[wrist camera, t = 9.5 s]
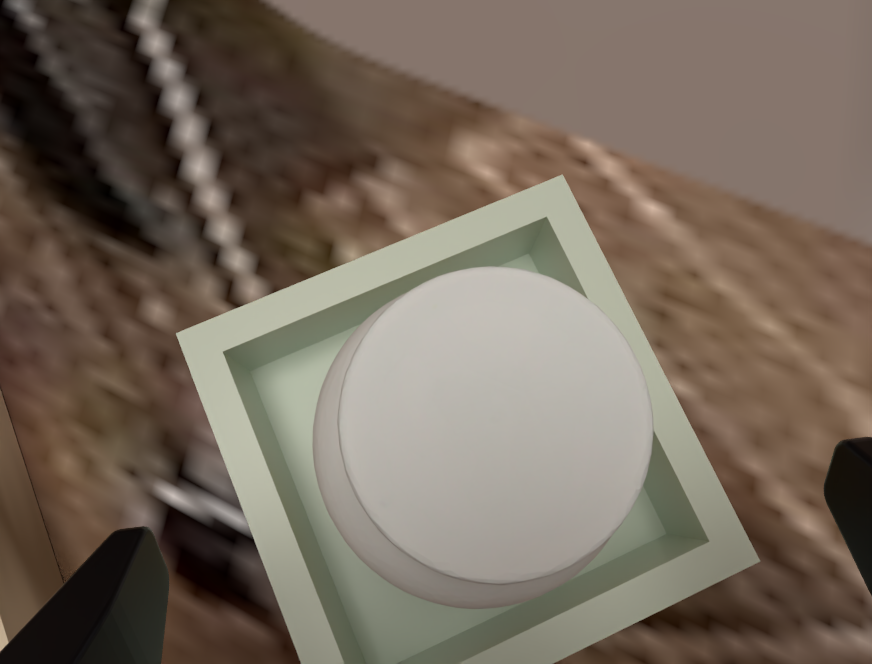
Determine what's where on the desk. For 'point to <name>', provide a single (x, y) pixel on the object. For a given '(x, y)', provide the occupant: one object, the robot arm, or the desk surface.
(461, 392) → the supplement bottle
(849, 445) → the robot arm
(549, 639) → the tray
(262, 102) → the desk surface
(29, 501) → the socket block
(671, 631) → the desk surface
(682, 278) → the desk surface
